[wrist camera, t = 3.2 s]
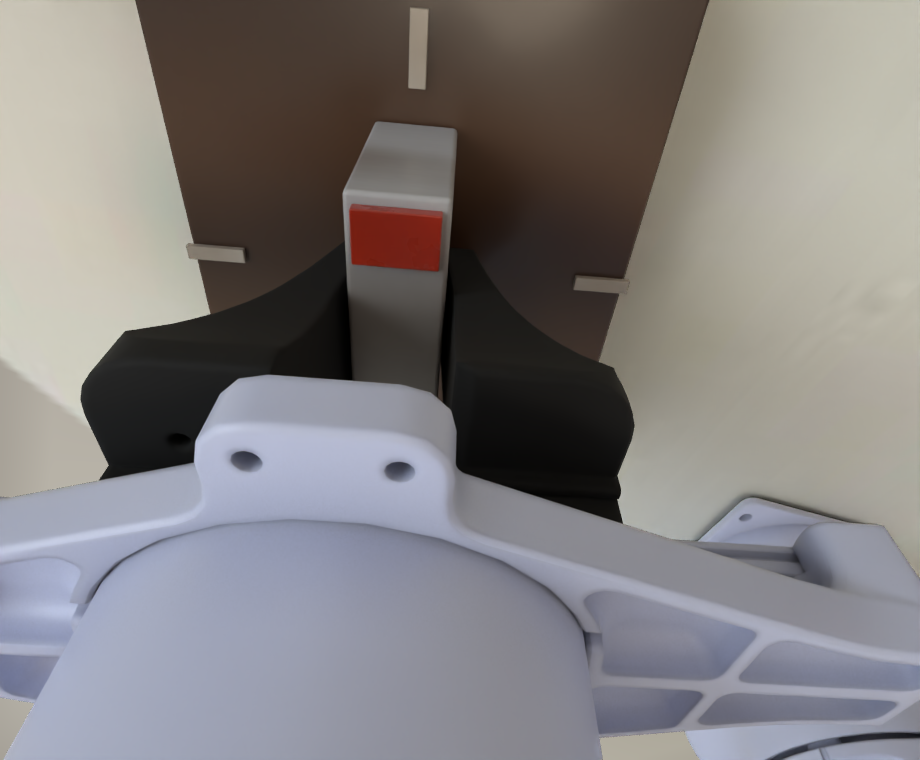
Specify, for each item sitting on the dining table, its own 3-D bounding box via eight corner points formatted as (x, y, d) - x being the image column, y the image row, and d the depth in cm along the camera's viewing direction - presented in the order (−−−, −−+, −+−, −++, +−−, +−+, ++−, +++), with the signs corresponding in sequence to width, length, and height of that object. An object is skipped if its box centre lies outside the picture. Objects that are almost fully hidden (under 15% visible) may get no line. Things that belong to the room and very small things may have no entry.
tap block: (559, 405, 21) (571, 468, 19) (263, 384, 21) (235, 445, 18) (683, -60, 12) (736, -54, 10) (170, -115, 12) (93, -123, 10)
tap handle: (439, 376, 17) (430, 489, 13) (377, 372, 16) (354, 484, 13) (458, 127, 12) (453, 205, 9) (374, 119, 12) (337, 195, 9)
